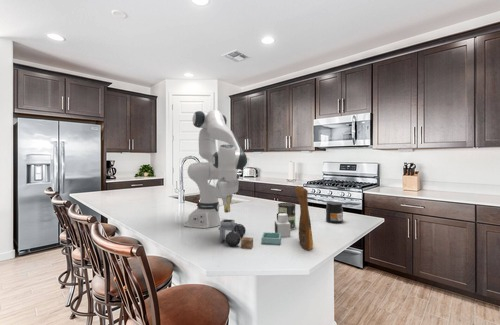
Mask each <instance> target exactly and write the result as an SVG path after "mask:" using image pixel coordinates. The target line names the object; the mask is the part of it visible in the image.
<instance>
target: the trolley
mask: <svg viewBox="0 0 500 325" xmlns="http://www.w3.org/2000/svg"><path fill="white" fill-rule="evenodd" d="M235 221H236V220H235V219H228V218H225V219H222V220H220V222H221V224H220V225H219V227H218V231H219V243H220V244H222V243H223V242H224V241H225V243H226V244H227V246H229V247H231V248H235V247H238V245H239V244H241V239H242V238H243V237H245V234H246V227H245V225H243V224H241V223H238V222H235ZM226 231H228V233H227V234H226Z"/></svg>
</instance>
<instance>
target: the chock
mask: <svg viewBox="0 0 500 325" xmlns="http://www.w3.org/2000/svg"><path fill="white" fill-rule="evenodd" d="M253 247H254V237H247V236H243V237H242V238H241V240H240V248H241V249H247V250H252V248H253Z"/></svg>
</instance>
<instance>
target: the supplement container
mask: <svg viewBox="0 0 500 325" xmlns="http://www.w3.org/2000/svg"><path fill="white" fill-rule="evenodd" d="M343 217H344V209H343V203H342V202H339V201H327V202H326V207H325V221H326V222H327V223H331V224H341V223H343V222H344V218H343Z"/></svg>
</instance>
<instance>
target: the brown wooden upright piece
mask: <svg viewBox="0 0 500 325" xmlns="http://www.w3.org/2000/svg"><path fill="white" fill-rule="evenodd" d="M294 189H295V193H296V195H297V196H296V197H297V200H298V203H299V208H300V211H299V212H300V213H299V214H300V215H299V221H298V222H299V223H298V240H299V243H300V246H301V248H302V249H303V250H305V251H311V250H312V249H313V248H314V240H313V232H312V222H311V216H310V211H309V203H308V202H309V199H308V192H309V191H308V189H306V188H304V187H302V186H299V185H296V186H295V187H294Z"/></svg>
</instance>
